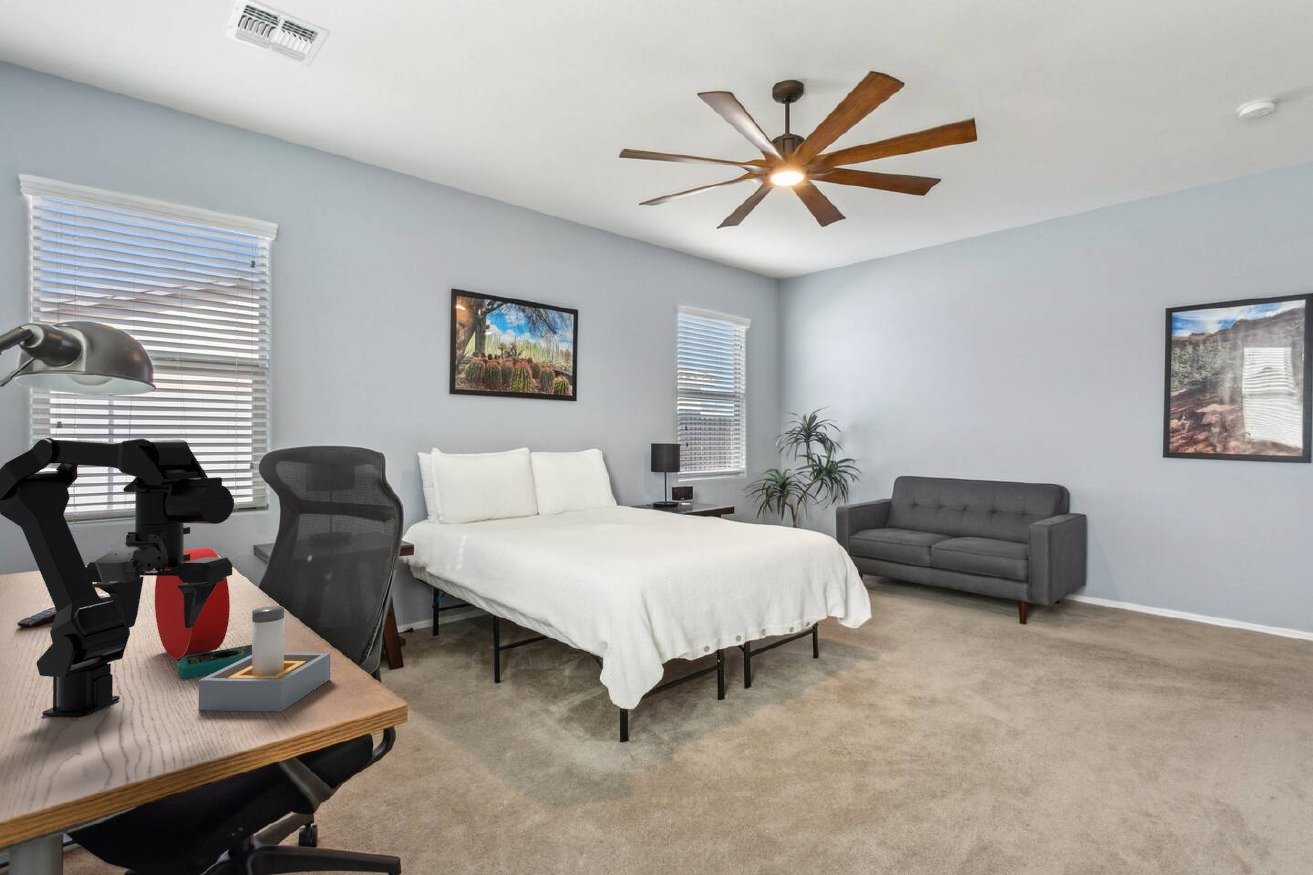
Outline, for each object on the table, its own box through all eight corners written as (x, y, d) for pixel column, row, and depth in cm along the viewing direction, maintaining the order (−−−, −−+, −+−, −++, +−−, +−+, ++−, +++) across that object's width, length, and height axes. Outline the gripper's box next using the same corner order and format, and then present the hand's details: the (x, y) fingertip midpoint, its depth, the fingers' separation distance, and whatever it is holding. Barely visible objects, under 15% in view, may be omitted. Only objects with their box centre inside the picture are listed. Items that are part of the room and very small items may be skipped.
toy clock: (229, 659, 119) (230, 552, 119) (192, 668, 114) (193, 557, 115) (189, 640, 131) (189, 543, 131) (154, 648, 126) (154, 547, 126)
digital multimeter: (177, 671, 115) (177, 654, 115) (272, 653, 124) (272, 638, 124) (179, 683, 109) (179, 665, 109) (279, 664, 118) (279, 648, 118)
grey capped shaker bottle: (250, 694, 100) (251, 614, 100) (253, 685, 104) (253, 608, 104) (283, 689, 102) (283, 610, 102) (284, 680, 106) (284, 604, 106)
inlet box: (198, 710, 97) (198, 680, 97) (256, 678, 110) (256, 652, 110) (281, 711, 96) (281, 681, 96) (330, 679, 109) (330, 653, 109)
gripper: (46, 529, 87) (45, 643, 87) (176, 530, 87) (176, 645, 86) (118, 520, 99) (118, 621, 98) (235, 520, 98) (234, 622, 98)
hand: (159, 627), depth 95 cm, fingers open, 9 cm apart
